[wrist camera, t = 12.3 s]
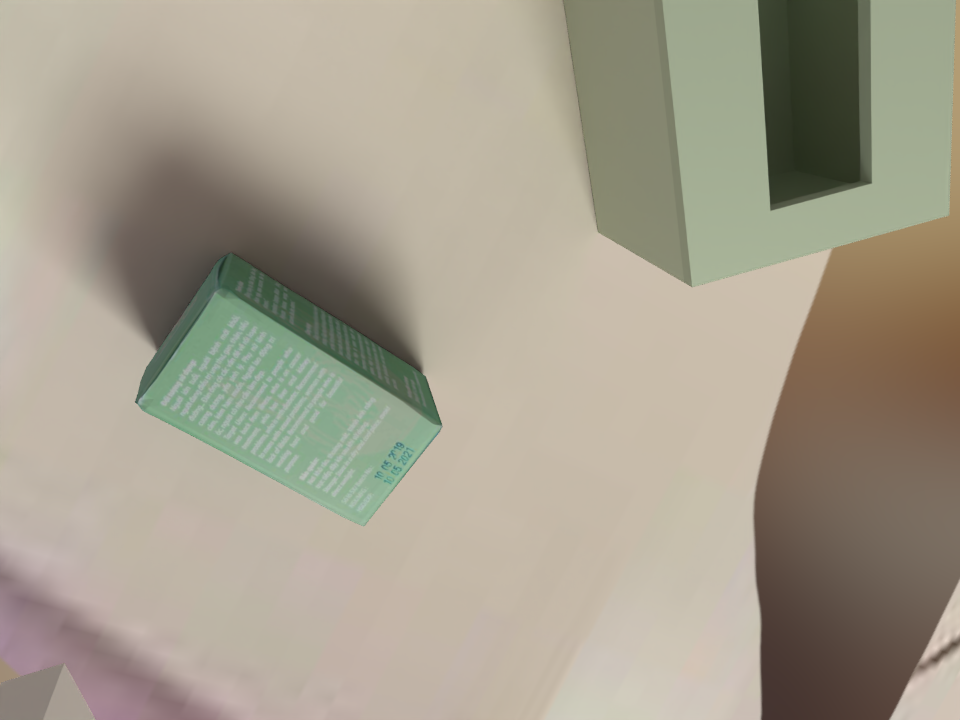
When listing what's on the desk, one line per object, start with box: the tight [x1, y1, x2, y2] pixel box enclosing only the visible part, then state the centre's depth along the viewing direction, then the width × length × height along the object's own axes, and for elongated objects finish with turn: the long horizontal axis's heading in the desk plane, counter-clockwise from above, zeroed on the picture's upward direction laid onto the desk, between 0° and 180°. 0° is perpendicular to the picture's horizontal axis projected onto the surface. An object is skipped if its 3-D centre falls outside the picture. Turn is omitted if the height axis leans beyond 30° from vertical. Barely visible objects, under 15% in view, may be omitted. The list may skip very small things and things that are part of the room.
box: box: [135, 253, 443, 526], centre depth 42 cm, size 7×14×8 cm, turn 52°
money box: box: [563, 0, 956, 287], centre depth 38 cm, size 17×13×12 cm
